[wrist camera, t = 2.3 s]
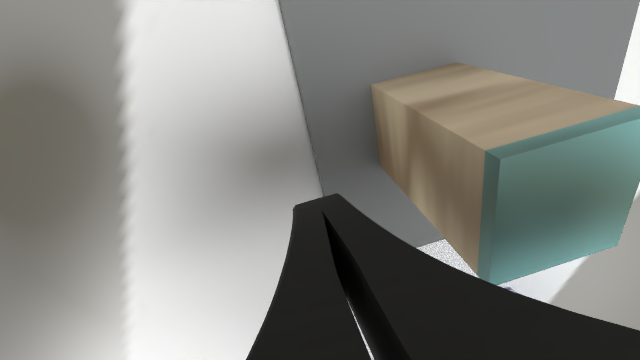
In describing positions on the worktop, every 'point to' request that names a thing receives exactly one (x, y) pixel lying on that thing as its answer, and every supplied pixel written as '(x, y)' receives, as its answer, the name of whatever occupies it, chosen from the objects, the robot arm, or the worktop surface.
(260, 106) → the worktop surface
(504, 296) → the robot arm
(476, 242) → the block
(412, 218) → the mat
